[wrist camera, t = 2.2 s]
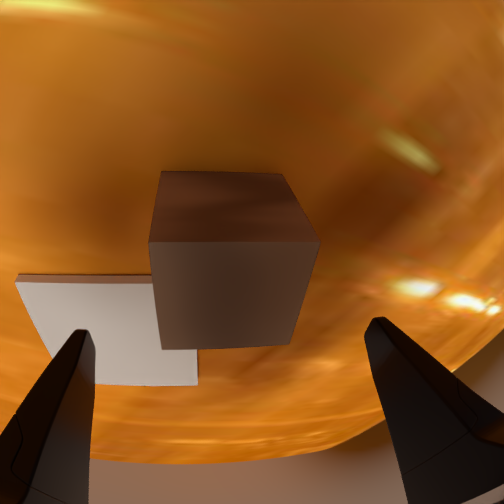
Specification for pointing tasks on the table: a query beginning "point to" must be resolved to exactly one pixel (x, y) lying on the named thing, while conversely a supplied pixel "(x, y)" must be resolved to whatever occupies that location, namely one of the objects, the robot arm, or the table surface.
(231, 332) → the walnut cube
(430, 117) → the table surface
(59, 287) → the stone coaster
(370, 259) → the table surface
